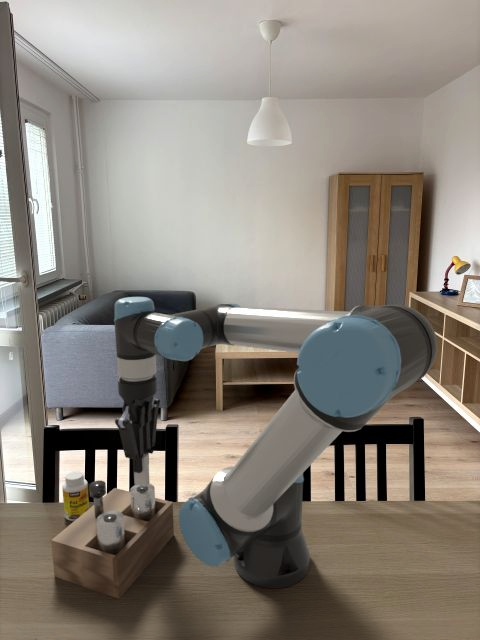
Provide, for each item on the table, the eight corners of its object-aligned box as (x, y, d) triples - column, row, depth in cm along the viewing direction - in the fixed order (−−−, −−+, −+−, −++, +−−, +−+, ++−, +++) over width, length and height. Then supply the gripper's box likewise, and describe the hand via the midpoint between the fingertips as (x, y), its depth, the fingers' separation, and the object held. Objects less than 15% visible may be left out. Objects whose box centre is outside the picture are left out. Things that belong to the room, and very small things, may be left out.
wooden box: (173, 535, 111) (172, 502, 109) (119, 598, 92) (116, 560, 91) (116, 519, 116) (114, 487, 114) (54, 576, 98) (51, 540, 96)
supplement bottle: (68, 525, 114) (65, 484, 112) (61, 513, 119) (58, 473, 116) (92, 517, 117) (90, 476, 115) (85, 505, 122) (82, 466, 119)
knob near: (131, 555, 99) (128, 513, 97) (115, 572, 94) (113, 528, 92) (109, 549, 101) (107, 507, 99) (93, 565, 96) (90, 521, 94)
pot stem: (110, 513, 105) (108, 482, 103) (100, 521, 102) (98, 490, 101) (98, 509, 106) (95, 479, 105) (88, 518, 103) (85, 486, 102)
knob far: (160, 523, 109) (159, 485, 107) (147, 537, 104) (146, 497, 102) (140, 518, 111) (138, 480, 109) (127, 531, 106) (125, 492, 104)
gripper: (139, 364, 107) (143, 465, 113) (100, 383, 96) (107, 495, 101) (170, 368, 105) (173, 472, 110) (134, 388, 93) (139, 504, 98)
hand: (142, 483), depth 105 cm, fingers closed
